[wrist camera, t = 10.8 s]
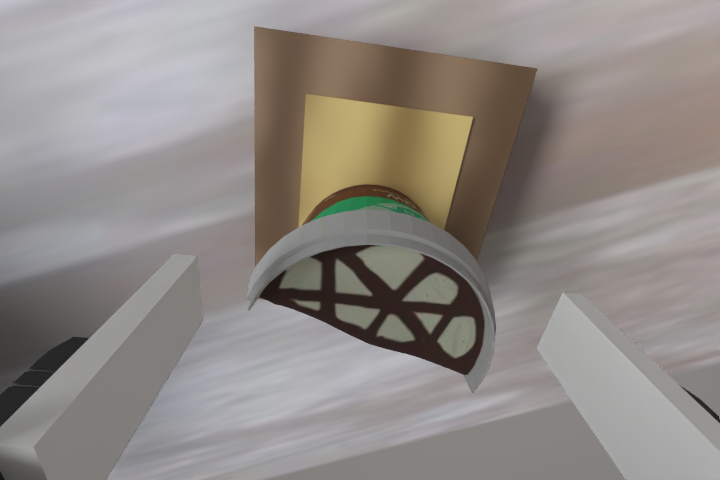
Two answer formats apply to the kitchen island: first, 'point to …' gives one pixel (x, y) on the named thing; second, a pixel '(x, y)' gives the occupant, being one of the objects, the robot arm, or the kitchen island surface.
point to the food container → (384, 279)
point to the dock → (380, 130)
